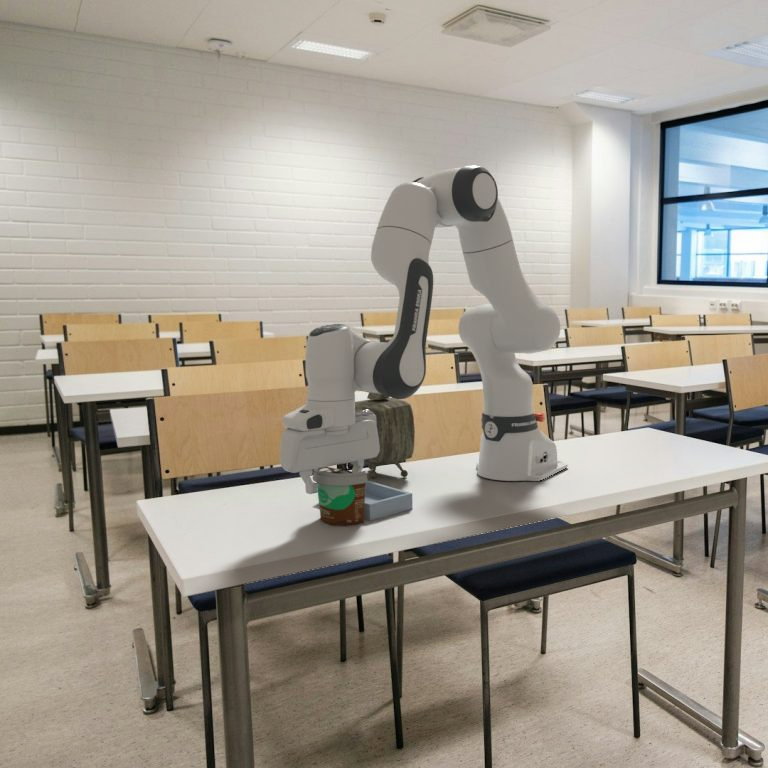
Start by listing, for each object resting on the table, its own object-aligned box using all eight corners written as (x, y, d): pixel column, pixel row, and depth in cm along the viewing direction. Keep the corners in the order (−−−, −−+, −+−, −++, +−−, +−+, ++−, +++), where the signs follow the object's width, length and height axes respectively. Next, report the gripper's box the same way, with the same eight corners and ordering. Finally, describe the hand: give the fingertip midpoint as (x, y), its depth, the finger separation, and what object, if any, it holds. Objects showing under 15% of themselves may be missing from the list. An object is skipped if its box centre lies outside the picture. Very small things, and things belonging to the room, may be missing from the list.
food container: (300, 519, 131) (298, 467, 130) (325, 511, 135) (323, 461, 134) (343, 533, 122) (341, 477, 121) (369, 524, 127) (367, 471, 125)
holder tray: (360, 492, 148) (359, 478, 148) (412, 508, 135) (412, 493, 135) (319, 502, 141) (318, 487, 141) (370, 520, 129) (369, 504, 128)
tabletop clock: (415, 477, 160) (413, 368, 157) (388, 485, 153) (385, 372, 150) (371, 467, 170) (368, 365, 167) (344, 475, 163) (340, 369, 160)
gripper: (365, 406, 135) (366, 475, 137) (274, 418, 122) (276, 495, 124) (386, 409, 131) (387, 481, 132) (293, 422, 118) (296, 502, 119)
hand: (333, 488), depth 128 cm, fingers open, 8 cm apart
